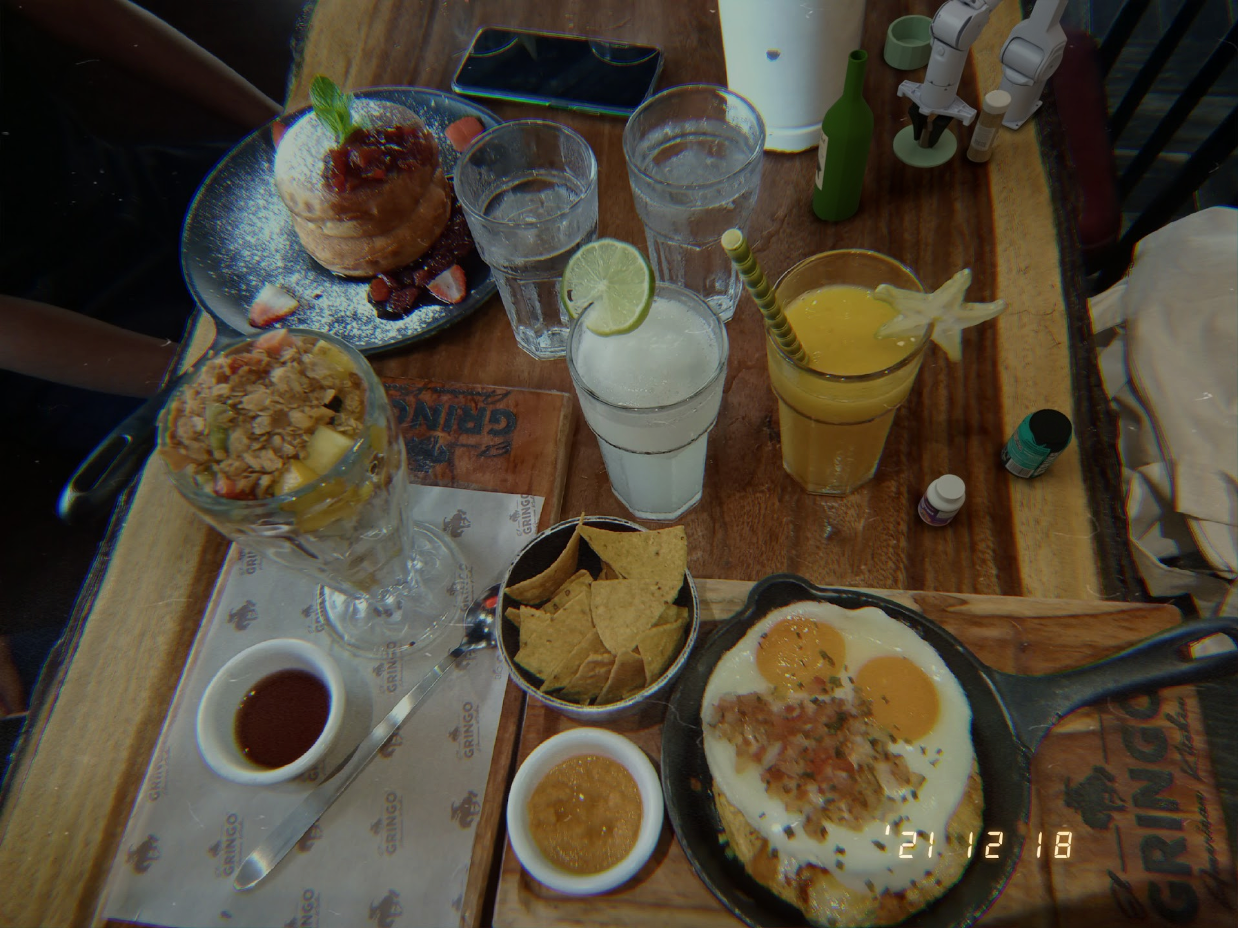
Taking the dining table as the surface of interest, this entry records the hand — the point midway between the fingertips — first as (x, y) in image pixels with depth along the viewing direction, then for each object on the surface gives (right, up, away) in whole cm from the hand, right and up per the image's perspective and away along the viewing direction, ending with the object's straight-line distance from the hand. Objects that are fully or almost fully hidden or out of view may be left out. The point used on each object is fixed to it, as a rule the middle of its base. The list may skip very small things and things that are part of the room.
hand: (925, 141), depth 138 cm
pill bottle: (-8, -69, -22) cm, 72 cm away
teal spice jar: (+7, -61, -20) cm, 64 cm away
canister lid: (0, -1, +1) cm, 1 cm away
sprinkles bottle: (+14, +1, +9) cm, 17 cm away
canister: (+6, +30, +24) cm, 39 cm away
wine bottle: (-15, -10, +9) cm, 19 cm away
